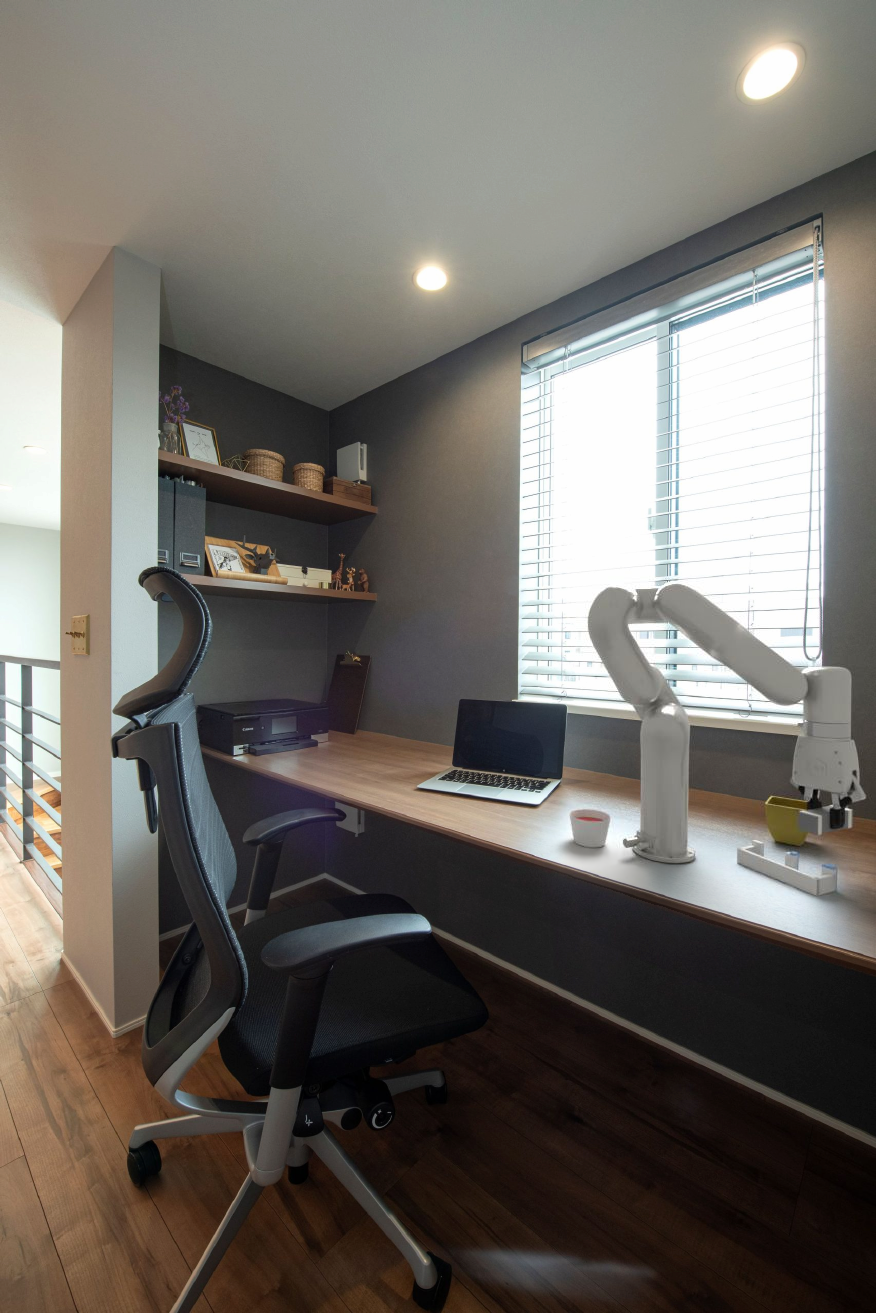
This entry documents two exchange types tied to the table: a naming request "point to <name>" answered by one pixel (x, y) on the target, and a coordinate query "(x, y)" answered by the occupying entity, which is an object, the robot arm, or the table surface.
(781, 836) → the flower pot
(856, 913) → the table surface
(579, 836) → the candle
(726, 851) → the table surface
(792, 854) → the white arch handle
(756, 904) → the table surface
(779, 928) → the table surface
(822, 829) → the white-capped gray brick
